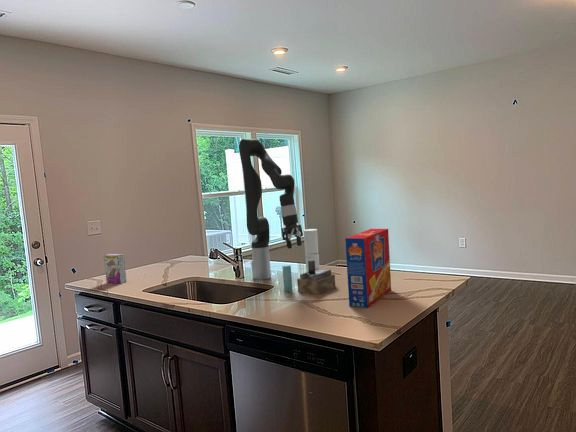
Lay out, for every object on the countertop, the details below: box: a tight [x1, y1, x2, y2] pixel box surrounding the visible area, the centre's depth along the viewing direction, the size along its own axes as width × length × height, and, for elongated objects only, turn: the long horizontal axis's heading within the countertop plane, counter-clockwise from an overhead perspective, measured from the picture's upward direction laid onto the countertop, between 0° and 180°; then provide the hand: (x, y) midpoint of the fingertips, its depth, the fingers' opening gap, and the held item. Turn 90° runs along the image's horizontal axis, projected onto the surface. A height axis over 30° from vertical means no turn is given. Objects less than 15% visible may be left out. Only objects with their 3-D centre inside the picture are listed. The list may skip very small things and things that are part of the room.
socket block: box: [296, 269, 336, 295], centre depth 210 cm, size 12×14×8 cm
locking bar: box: [307, 260, 327, 278], centre depth 210 cm, size 5×11×8 cm, turn 142°
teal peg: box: [281, 264, 293, 293], centre depth 210 cm, size 4×4×12 cm
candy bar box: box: [103, 253, 127, 285], centre depth 255 cm, size 11×5×16 cm, turn 65°
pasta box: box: [344, 228, 392, 309], centre depth 188 cm, size 28×8×28 cm, turn 148°
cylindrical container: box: [303, 228, 321, 273], centre depth 237 cm, size 7×7×25 cm
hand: (294, 247), depth 219 cm, fingers open, 8 cm apart
